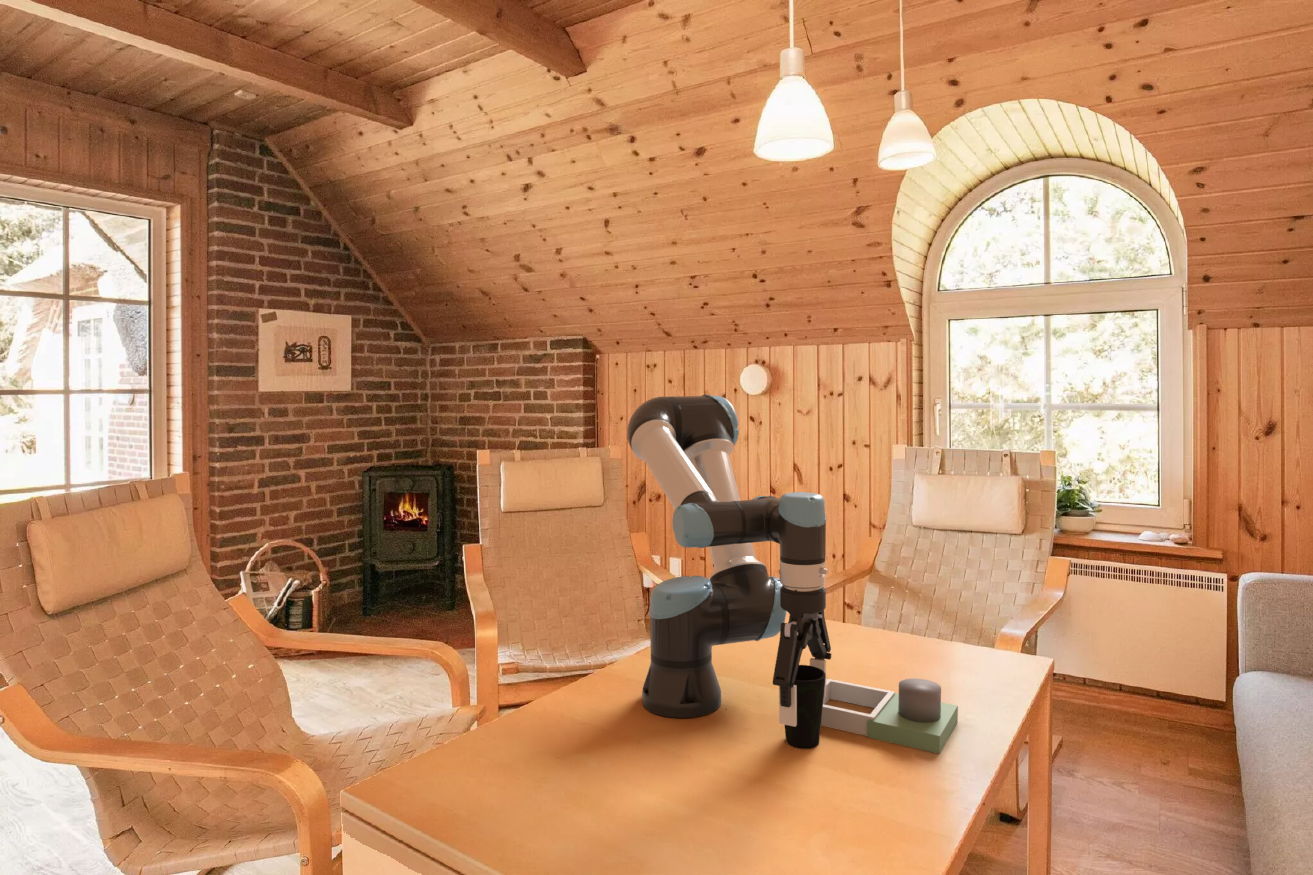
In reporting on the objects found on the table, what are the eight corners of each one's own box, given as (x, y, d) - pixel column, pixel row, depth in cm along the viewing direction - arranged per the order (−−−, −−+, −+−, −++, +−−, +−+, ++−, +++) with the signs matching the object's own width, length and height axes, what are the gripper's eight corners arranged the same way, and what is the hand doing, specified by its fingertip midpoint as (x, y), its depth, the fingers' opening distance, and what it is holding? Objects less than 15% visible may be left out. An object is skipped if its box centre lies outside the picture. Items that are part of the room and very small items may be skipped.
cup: (825, 753, 133) (825, 682, 132) (778, 750, 135) (778, 679, 134) (825, 733, 140) (825, 665, 140) (780, 729, 142) (780, 663, 141)
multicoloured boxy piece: (801, 722, 145) (801, 678, 144) (828, 695, 157) (828, 655, 156) (939, 753, 132) (940, 706, 132) (957, 721, 144) (958, 678, 144)
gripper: (795, 606, 123) (796, 742, 124) (848, 572, 144) (849, 689, 145) (750, 600, 127) (752, 732, 128) (808, 568, 148) (809, 681, 149)
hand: (803, 709), depth 137 cm, fingers open, 13 cm apart
